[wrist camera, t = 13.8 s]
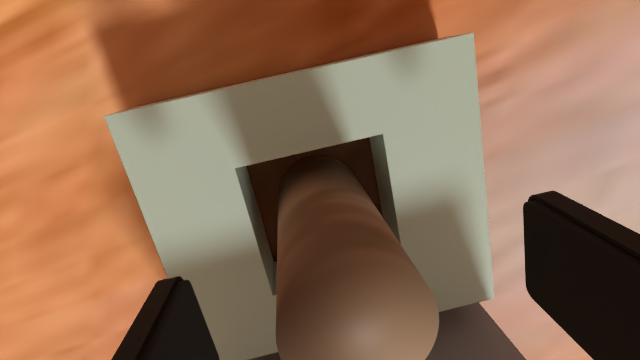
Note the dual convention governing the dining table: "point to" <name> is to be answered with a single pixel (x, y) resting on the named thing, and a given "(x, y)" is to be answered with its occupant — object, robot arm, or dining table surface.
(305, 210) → the walnut peg
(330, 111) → the socket block
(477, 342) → the low wall
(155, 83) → the dining table surface
